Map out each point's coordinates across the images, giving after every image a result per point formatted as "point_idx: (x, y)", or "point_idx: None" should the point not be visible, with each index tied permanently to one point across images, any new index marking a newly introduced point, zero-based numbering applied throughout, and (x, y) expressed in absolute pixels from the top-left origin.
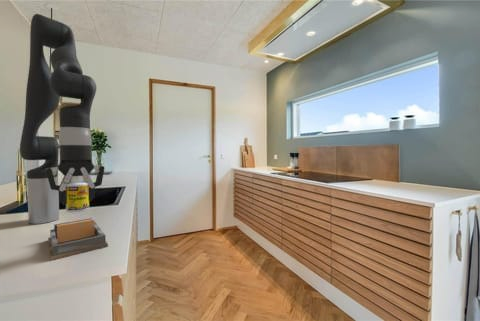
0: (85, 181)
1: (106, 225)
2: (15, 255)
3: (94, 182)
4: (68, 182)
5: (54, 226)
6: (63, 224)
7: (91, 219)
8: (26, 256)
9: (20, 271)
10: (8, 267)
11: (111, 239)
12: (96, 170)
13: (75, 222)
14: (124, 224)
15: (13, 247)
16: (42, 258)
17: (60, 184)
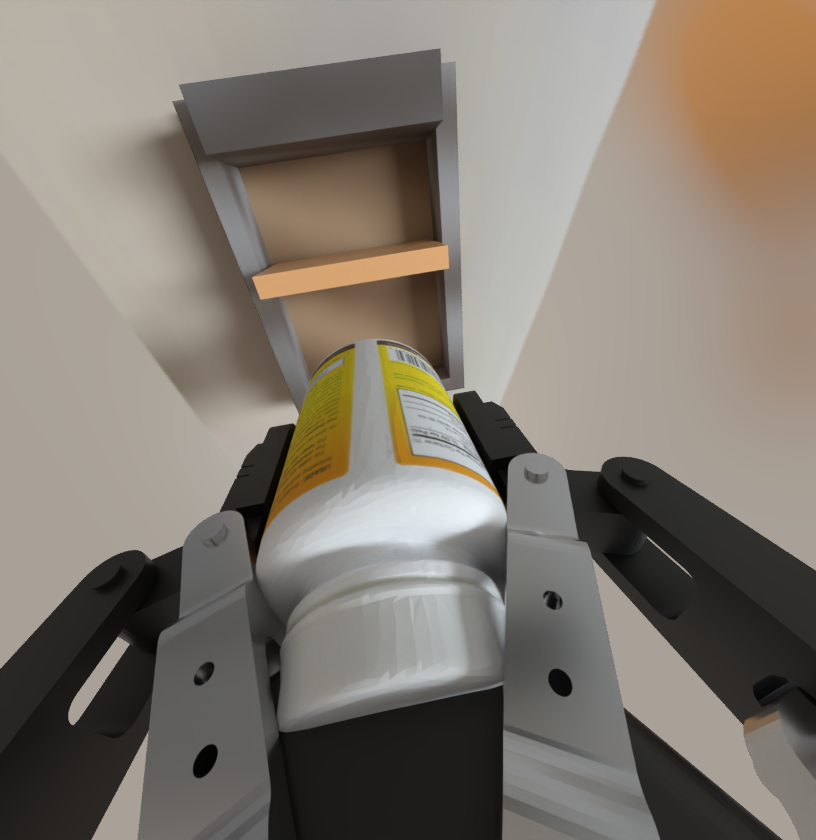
0: (493, 570)
1: None
2: (140, 289)
3: (587, 523)
4: (284, 600)
5: (201, 137)
6: (287, 280)
7: (435, 250)
8: (198, 325)
9: (245, 433)
10: (191, 394)
11: (483, 305)
12: (790, 789)
13: (348, 271)
14: (623, 23)
15: (31, 136)
16: (269, 373)
17: (193, 594)
